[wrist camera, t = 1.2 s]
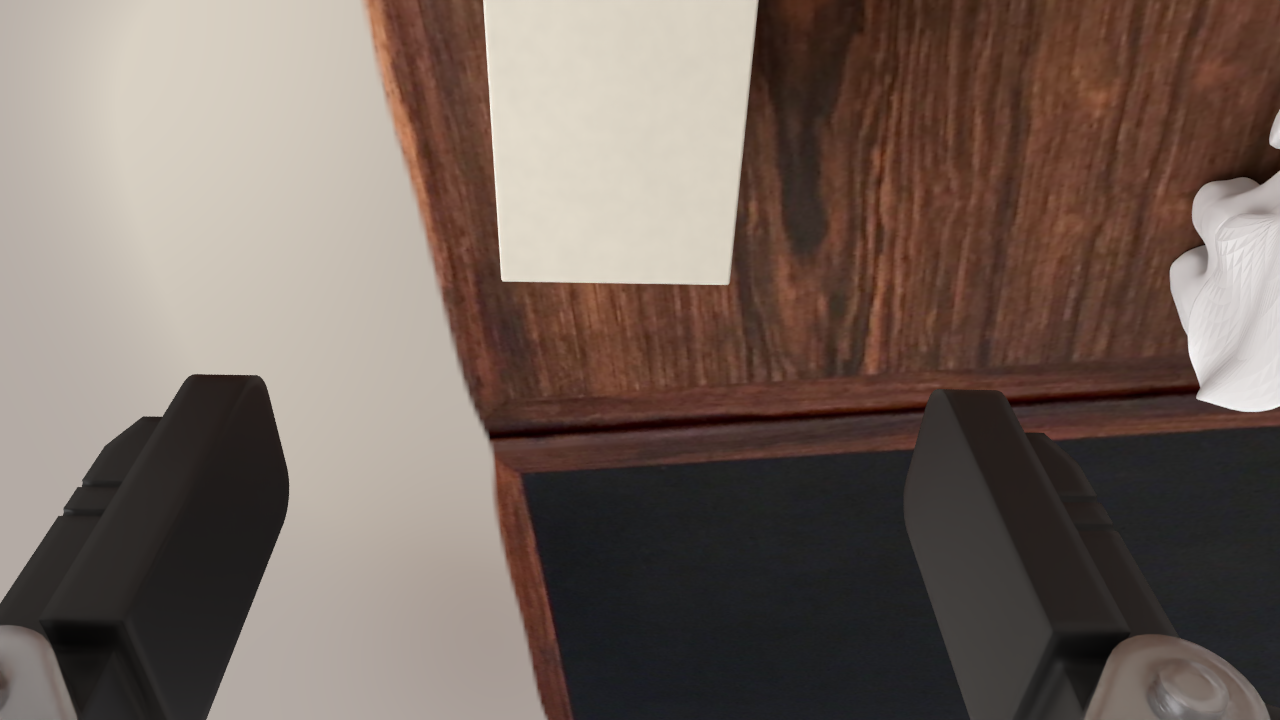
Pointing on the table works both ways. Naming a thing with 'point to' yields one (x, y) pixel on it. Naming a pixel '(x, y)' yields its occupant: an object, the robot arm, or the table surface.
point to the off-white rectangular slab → (618, 137)
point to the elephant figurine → (1234, 291)
